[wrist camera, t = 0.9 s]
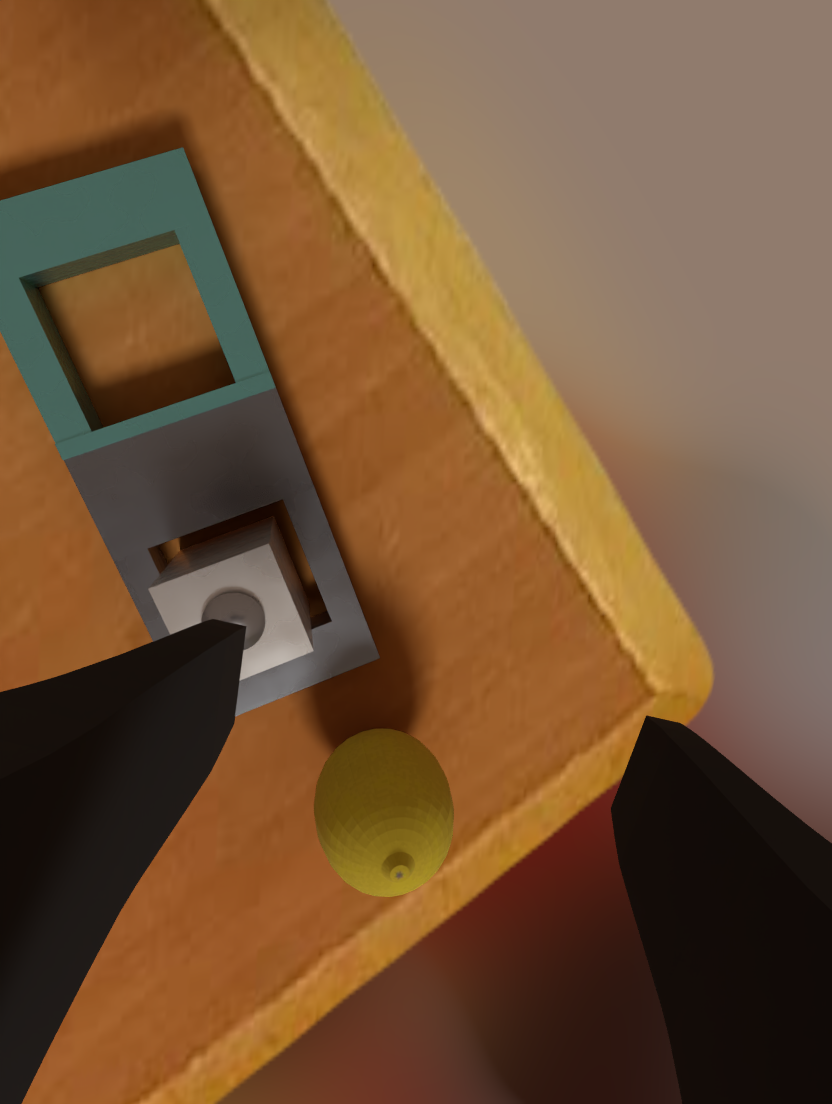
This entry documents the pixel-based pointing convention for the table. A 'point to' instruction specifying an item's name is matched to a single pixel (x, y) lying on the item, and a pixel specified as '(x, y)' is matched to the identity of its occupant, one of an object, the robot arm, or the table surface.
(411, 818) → the lemon
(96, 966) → the table surface
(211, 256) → the teal silver rectangular frame
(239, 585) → the domed white cube
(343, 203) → the table surface
